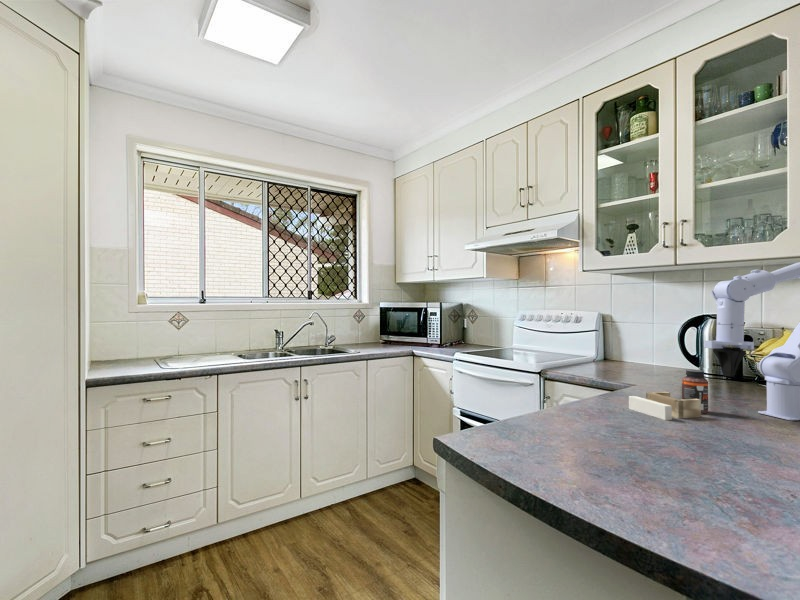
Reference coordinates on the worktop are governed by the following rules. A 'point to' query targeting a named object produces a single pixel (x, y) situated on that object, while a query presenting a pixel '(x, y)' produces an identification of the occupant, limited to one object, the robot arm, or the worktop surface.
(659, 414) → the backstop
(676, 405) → the cradle
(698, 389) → the supplement bottle
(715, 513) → the worktop surface
